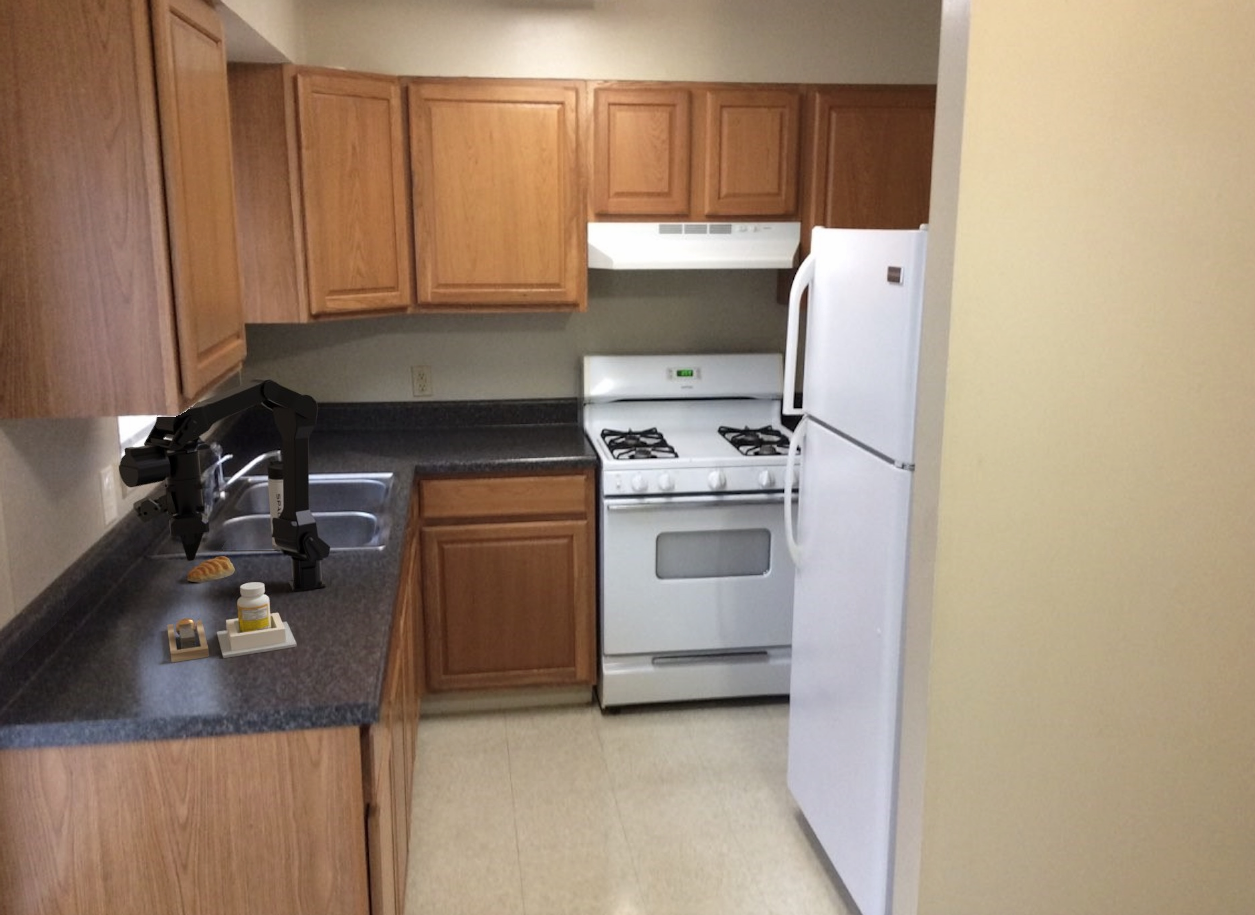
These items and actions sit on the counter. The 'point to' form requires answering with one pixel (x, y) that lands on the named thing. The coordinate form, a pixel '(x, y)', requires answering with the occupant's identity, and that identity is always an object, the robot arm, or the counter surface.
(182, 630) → the lock pin
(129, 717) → the counter surface
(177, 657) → the mount
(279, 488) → the travel mug
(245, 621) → the supplement bottle
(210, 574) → the pastry
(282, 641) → the socket
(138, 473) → the robot arm
